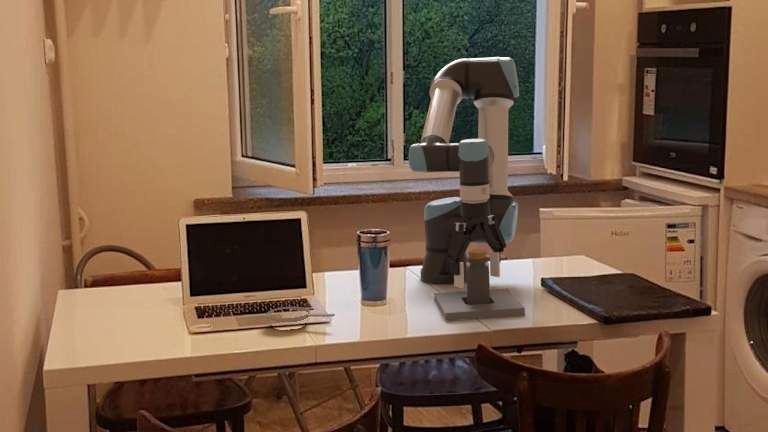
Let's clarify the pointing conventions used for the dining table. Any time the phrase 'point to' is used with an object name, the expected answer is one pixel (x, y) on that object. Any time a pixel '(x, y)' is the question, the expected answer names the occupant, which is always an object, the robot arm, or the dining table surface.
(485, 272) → the bottle
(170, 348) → the dining table surface
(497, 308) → the hole plate
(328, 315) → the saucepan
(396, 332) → the dining table surface
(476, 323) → the dining table surface
